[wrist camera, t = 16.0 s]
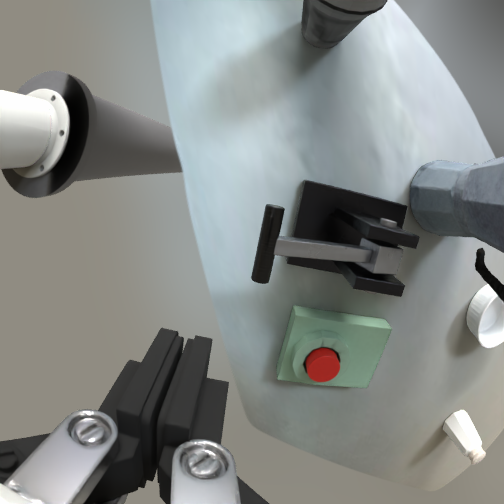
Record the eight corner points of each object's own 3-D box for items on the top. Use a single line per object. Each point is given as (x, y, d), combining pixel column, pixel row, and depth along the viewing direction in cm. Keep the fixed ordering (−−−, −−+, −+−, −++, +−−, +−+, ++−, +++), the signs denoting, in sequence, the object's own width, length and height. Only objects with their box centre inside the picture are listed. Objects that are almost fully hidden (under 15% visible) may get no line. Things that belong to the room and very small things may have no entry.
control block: (276, 367, 38) (277, 389, 34) (293, 304, 36) (297, 322, 32) (361, 376, 39) (370, 396, 34) (384, 318, 36) (397, 336, 32)
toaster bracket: (285, 260, 35) (298, 305, 23) (303, 179, 32) (327, 184, 21) (383, 279, 35) (429, 323, 24) (403, 204, 33) (461, 223, 21)
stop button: (301, 371, 34) (303, 380, 32) (310, 345, 33) (312, 354, 31) (331, 374, 34) (334, 383, 32) (341, 349, 33) (344, 358, 31)
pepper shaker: (443, 434, 43) (466, 474, 32) (440, 420, 41) (465, 462, 31) (467, 419, 42) (492, 456, 31) (465, 404, 41) (493, 443, 30)
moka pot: (465, 138, 30) (590, 134, 11) (466, 258, 34) (574, 320, 15) (402, 134, 31) (531, 114, 11) (406, 266, 34) (513, 349, 15)
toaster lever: (245, 273, 22) (257, 287, 20) (259, 201, 20) (274, 208, 18) (373, 280, 26) (391, 290, 24) (389, 225, 25) (408, 232, 23)
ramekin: (468, 345, 37) (482, 359, 33) (456, 302, 36) (473, 315, 31) (507, 312, 36) (523, 323, 32) (499, 267, 34) (517, 277, 30)
